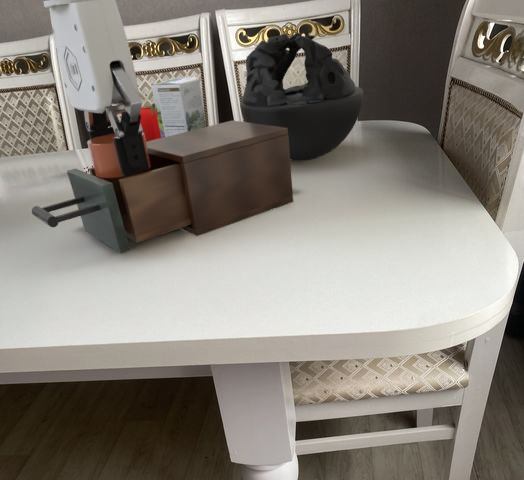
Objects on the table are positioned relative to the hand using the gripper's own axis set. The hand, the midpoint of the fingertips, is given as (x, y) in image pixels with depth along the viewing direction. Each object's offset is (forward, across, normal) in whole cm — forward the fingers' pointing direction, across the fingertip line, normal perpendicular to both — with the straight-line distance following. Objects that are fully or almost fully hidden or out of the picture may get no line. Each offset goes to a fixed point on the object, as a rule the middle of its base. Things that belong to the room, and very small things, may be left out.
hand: (122, 166), depth 63 cm
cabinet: (+9, 0, +13) cm, 15 cm away
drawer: (+8, 0, -1) cm, 8 cm away
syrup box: (+9, -22, +21) cm, 31 cm away
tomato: (+9, -34, +22) cm, 41 cm away
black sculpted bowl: (+9, -10, +37) cm, 39 cm away
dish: (+1, 0, 0) cm, 1 cm away
